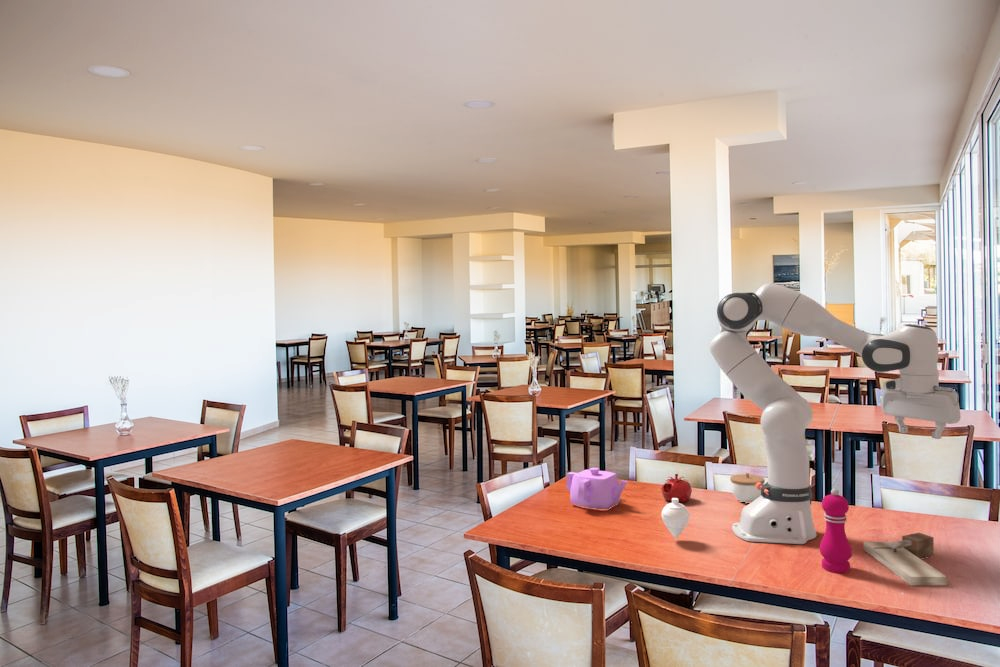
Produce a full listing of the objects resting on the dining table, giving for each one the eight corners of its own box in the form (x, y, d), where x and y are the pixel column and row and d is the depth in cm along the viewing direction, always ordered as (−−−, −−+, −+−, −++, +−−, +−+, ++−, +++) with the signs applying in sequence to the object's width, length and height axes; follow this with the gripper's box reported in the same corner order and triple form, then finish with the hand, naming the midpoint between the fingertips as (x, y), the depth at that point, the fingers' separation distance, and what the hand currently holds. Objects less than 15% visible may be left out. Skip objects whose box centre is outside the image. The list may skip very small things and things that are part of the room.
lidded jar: (770, 505, 221) (769, 476, 220) (737, 506, 221) (736, 477, 221) (758, 496, 231) (757, 468, 231) (726, 496, 232) (726, 469, 231)
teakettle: (564, 499, 235) (563, 464, 234) (610, 495, 238) (609, 460, 237) (579, 514, 218) (578, 476, 217) (629, 509, 221) (628, 472, 221)
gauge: (899, 564, 170) (899, 544, 170) (885, 558, 173) (885, 539, 173) (933, 556, 174) (933, 537, 174) (919, 551, 178) (919, 532, 177)
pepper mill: (813, 563, 171) (812, 485, 171) (841, 562, 172) (840, 484, 171) (830, 575, 164) (829, 493, 163) (858, 573, 165) (857, 491, 164)
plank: (911, 585, 157) (910, 576, 157) (863, 549, 180) (863, 541, 180) (946, 585, 156) (946, 576, 156) (894, 549, 179) (894, 541, 179)
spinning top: (690, 537, 193) (690, 495, 193) (689, 546, 186) (688, 503, 186) (663, 534, 196) (662, 493, 195) (660, 544, 189) (659, 501, 188)
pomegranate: (691, 497, 233) (691, 470, 233) (692, 505, 224) (692, 477, 223) (661, 495, 236) (661, 469, 235) (661, 503, 226) (661, 476, 225)
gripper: (966, 387, 174) (966, 440, 175) (893, 380, 193) (893, 428, 194) (949, 389, 172) (949, 443, 172) (877, 382, 191) (877, 430, 191)
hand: (919, 435), depth 183 cm, fingers open, 8 cm apart
